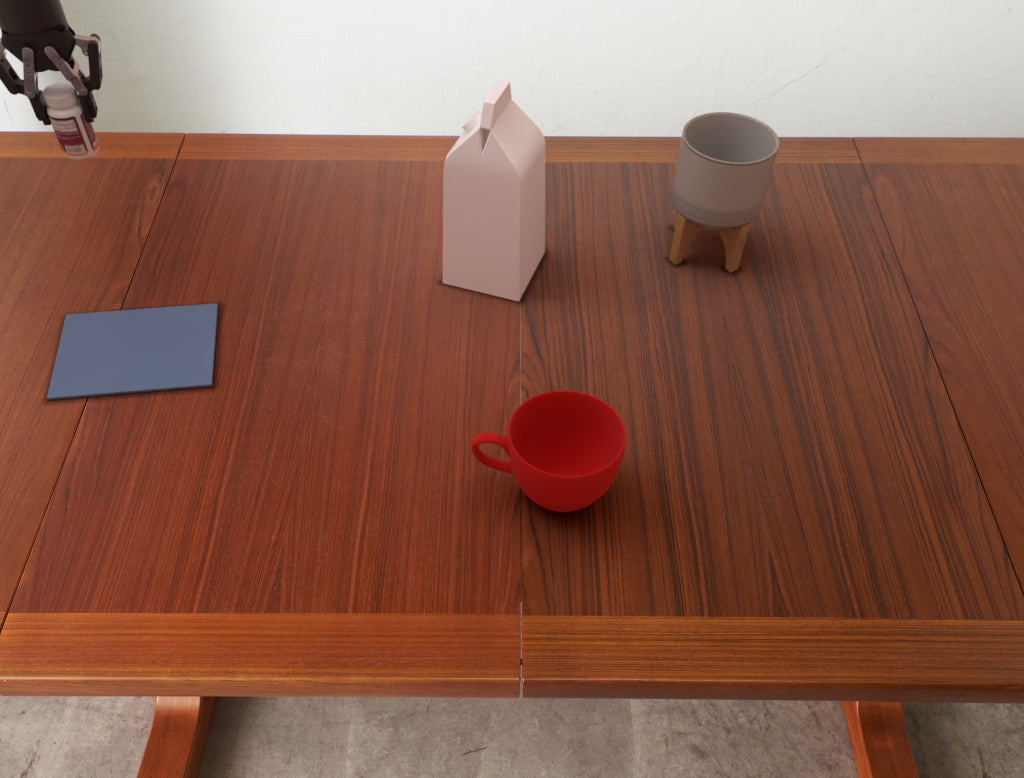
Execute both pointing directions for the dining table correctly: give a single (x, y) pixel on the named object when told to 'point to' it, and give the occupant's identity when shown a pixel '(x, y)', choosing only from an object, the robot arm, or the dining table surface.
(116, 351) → the cloth
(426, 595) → the dining table surface
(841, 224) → the dining table surface
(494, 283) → the milk
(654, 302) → the dining table surface
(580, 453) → the ceramic cup
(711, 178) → the planter
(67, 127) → the pill bottle
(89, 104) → the robot arm
